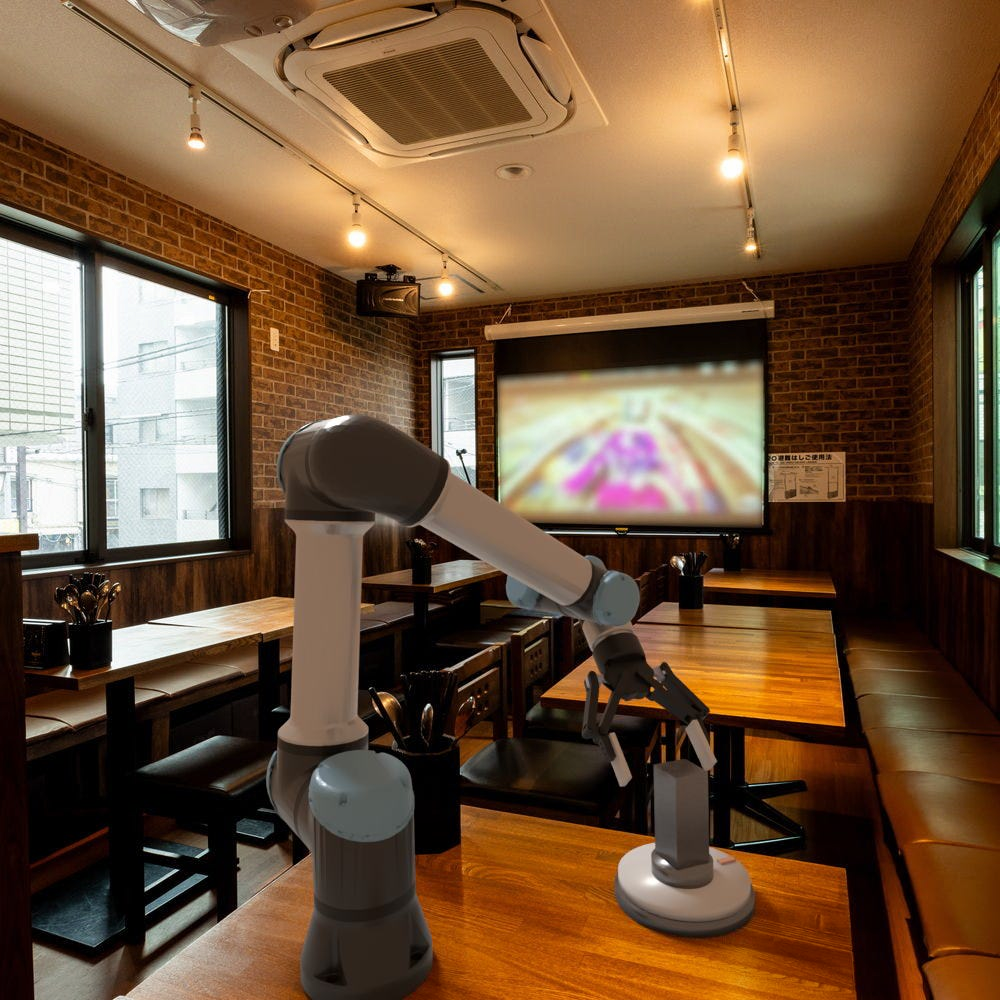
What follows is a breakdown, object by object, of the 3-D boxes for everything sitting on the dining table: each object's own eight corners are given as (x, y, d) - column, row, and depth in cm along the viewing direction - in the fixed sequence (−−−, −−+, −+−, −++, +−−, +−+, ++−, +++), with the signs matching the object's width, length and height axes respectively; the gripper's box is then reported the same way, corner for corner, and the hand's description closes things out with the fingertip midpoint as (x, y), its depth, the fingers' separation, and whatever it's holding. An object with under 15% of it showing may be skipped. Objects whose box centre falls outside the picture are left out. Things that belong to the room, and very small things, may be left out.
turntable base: (664, 953, 87) (663, 940, 87) (591, 878, 104) (590, 867, 104) (785, 916, 94) (785, 904, 94) (698, 851, 110) (698, 841, 110)
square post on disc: (674, 894, 93) (672, 784, 93) (639, 864, 101) (637, 762, 100) (726, 880, 96) (724, 773, 96) (689, 852, 104) (687, 753, 103)
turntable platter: (665, 935, 88) (664, 920, 88) (595, 867, 104) (595, 854, 103) (779, 902, 94) (779, 888, 94) (697, 842, 110) (697, 830, 110)
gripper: (672, 649, 123) (732, 771, 109) (534, 665, 114) (579, 800, 101) (691, 622, 118) (756, 748, 104) (547, 637, 109) (597, 776, 95)
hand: (669, 774), depth 102 cm, fingers open, 13 cm apart
